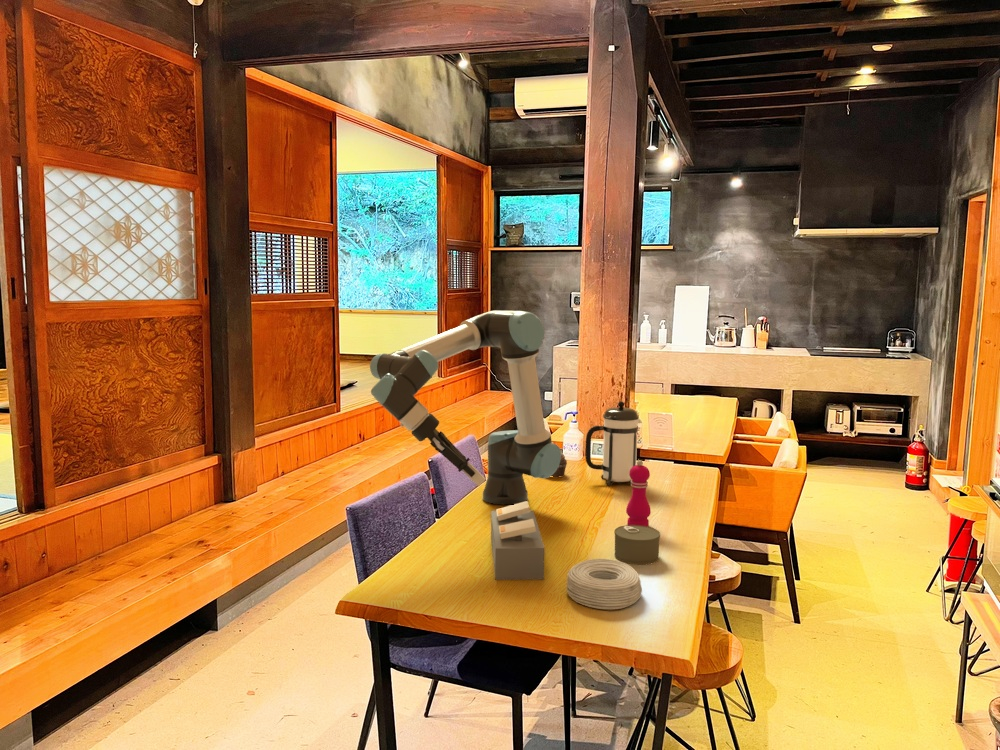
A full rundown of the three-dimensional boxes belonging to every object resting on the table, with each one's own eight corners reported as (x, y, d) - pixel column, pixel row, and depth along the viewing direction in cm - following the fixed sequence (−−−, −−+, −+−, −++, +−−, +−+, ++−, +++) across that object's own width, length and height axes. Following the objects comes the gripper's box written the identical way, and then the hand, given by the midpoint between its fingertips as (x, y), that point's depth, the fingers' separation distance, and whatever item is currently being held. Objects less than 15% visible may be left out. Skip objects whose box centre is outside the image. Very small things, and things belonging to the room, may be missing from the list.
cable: (608, 575, 186) (609, 552, 186) (658, 601, 172) (658, 576, 171) (551, 590, 177) (552, 566, 176) (599, 619, 162) (599, 592, 162)
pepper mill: (650, 529, 220) (652, 463, 218) (625, 528, 222) (627, 462, 219) (650, 522, 227) (652, 458, 225) (626, 520, 229) (628, 456, 226)
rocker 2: (499, 531, 192) (498, 525, 192) (533, 523, 192) (532, 518, 192) (501, 539, 186) (499, 533, 186) (536, 531, 186) (535, 525, 186)
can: (629, 568, 191) (630, 542, 190) (605, 552, 202) (605, 528, 201) (668, 561, 196) (669, 536, 195) (642, 546, 207) (643, 522, 206)
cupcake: (539, 472, 287) (539, 446, 285) (564, 471, 288) (564, 446, 286) (543, 478, 277) (543, 452, 276) (568, 478, 278) (569, 451, 277)
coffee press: (612, 474, 284) (614, 396, 280) (647, 482, 273) (650, 401, 269) (583, 482, 272) (585, 401, 268) (619, 491, 261) (621, 406, 257)
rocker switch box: (490, 531, 218) (490, 500, 217) (531, 530, 219) (531, 500, 218) (495, 579, 183) (495, 543, 181) (544, 579, 183) (544, 543, 182)
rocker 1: (497, 514, 207) (496, 508, 207) (528, 505, 207) (527, 500, 207) (498, 520, 201) (496, 515, 201) (530, 512, 201) (529, 506, 201)
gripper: (411, 427, 206) (471, 485, 209) (408, 437, 193) (472, 498, 196) (430, 408, 205) (490, 466, 208) (429, 416, 192) (493, 479, 196)
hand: (481, 482), depth 202 cm, fingers closed
